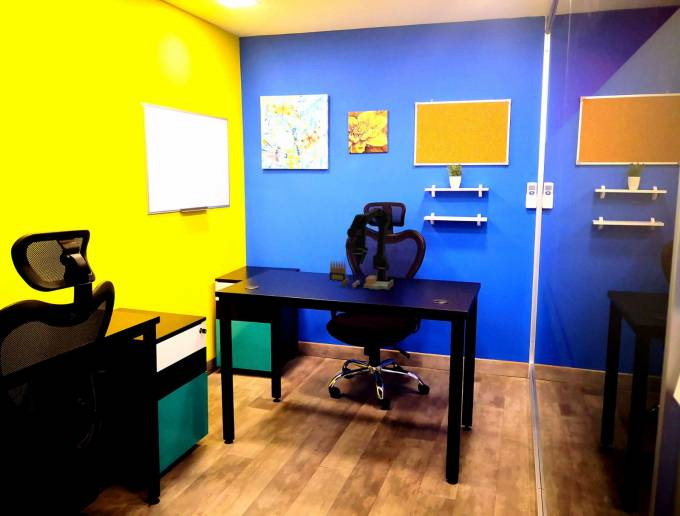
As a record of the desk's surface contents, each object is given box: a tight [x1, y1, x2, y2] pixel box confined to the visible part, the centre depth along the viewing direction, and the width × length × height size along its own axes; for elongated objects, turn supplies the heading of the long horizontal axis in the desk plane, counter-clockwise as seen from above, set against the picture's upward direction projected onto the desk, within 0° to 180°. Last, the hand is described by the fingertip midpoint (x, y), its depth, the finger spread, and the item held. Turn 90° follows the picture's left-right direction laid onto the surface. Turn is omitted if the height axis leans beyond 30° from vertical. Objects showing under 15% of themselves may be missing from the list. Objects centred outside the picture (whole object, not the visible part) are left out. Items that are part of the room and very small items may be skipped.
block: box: [365, 275, 377, 285], centre depth 308 cm, size 10×4×4 cm, turn 165°
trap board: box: [341, 277, 394, 291], centre depth 308 cm, size 13×27×4 cm, turn 75°
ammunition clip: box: [328, 260, 347, 282], centre depth 324 cm, size 11×2×12 cm, turn 63°
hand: (359, 264), depth 308 cm, fingers open, 9 cm apart
